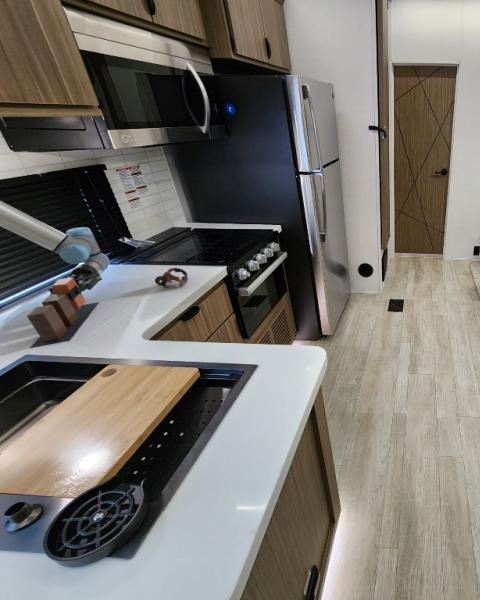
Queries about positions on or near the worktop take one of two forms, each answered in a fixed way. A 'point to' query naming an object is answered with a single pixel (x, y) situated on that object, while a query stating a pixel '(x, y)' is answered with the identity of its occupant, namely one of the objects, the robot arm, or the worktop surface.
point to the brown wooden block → (62, 308)
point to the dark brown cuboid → (47, 323)
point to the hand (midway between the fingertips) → (61, 298)
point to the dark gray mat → (82, 314)
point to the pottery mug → (171, 277)
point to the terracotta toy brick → (65, 287)
